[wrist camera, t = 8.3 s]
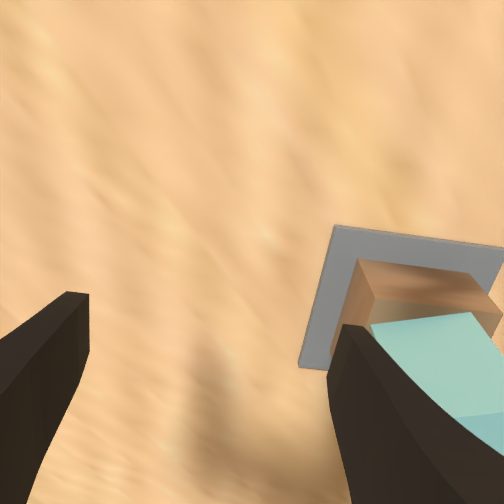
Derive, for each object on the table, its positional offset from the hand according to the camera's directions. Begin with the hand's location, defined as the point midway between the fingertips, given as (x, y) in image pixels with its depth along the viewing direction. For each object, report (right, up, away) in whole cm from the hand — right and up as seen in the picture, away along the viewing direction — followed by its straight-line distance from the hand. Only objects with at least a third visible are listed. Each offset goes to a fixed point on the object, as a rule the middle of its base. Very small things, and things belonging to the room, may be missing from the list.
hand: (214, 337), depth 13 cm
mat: (+9, -1, +12) cm, 15 cm away
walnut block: (+9, -1, +12) cm, 15 cm away
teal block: (+9, -3, +9) cm, 13 cm away
